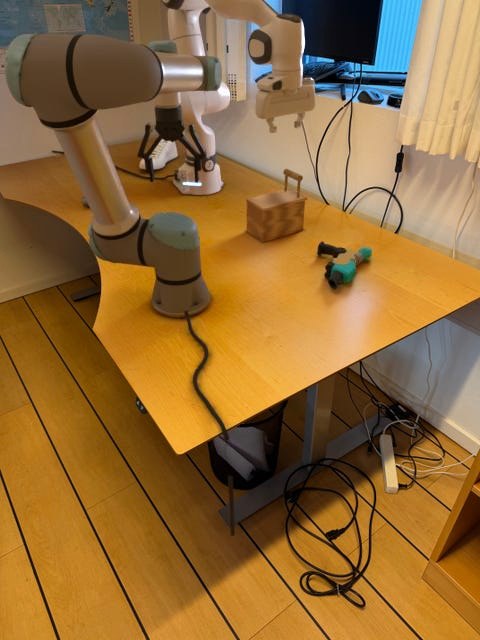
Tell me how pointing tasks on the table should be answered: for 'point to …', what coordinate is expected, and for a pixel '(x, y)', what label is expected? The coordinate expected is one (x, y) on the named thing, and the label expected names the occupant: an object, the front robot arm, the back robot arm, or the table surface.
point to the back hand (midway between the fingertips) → (285, 130)
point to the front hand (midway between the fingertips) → (174, 181)
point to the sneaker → (162, 154)
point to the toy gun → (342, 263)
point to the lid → (279, 195)
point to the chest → (275, 221)
